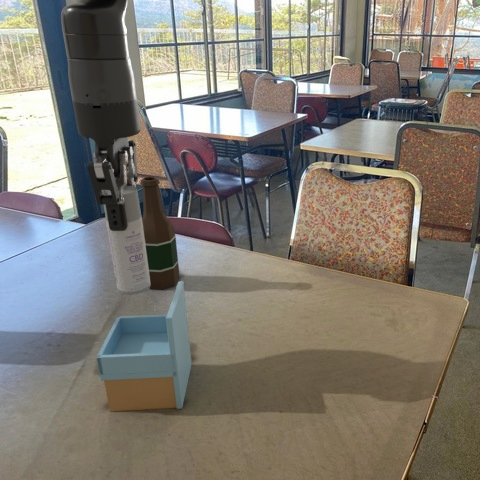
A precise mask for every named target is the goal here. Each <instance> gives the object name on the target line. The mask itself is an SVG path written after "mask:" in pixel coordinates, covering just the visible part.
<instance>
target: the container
mask: <svg viewBox="0 0 480 480" xmlns="http://www.w3.org/2000/svg"><path fill="white" fill-rule="evenodd" d="M108 195H111V191H110V190H108ZM124 204H125V211H126V218H127V224H128V227H127V229H126V230H125V231H112V230H110V228H109V223H108V217H107V211H106V205H103V209H104V214H105V215H104V217H105V224H106V230H107V237H108V242H109V249H110V255H111V261H112V267H113V273H114V279H115V284H116V290H117V292H118V293H120V294H122V295H126V296H133V295H138V294H142V293H144V292H146V291H148V290H150V286H151V284H150V275H149V268H148V260H147V253H146V245H145V238H144V230H143V223H142V217H143V216H142V212H141V205H140V199H139V193H138V188H137V186H136V187H133V186H125V187H124Z"/></svg>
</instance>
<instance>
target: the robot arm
mask: <svg viewBox="0 0 480 480" xmlns="http://www.w3.org/2000/svg"><path fill="white" fill-rule="evenodd" d="M128 2H129V1H128V0H75V2H73V3H69V4H67V5H65V6H64V7H63V8H62V10H61V14H60V21H61V23H60V24H61V30H62V35H63V41H64V47H65V53H66V58H67V74H68V75H67V76H68V84H69V89H70V95H71V100H72V105H73V111H74V117H75V123H76V129H77V133H78V135H79V136H81V137H83V138H86V139H91V140H93V141H94V151H93V153H92V155H93V161H88V162H87V165H86V168H87V172H88V175H89V179H90V182H91V186H92V189H93V193H94V196H95V199H96V203H97V205H98V206H104V205H106V211H107V217H108V223H109V228H110V230H112V231H125V230H126V229H127V227H128V224H127V218H126V211H125V204H124V187H125V186H133V187H136V188H137V185H136V183H137V182H138V180H139V176H138V163H137V162H138V161H137V148H136V147H137V143H136V140H132V139H131V140H129V138H131V137H134V136H136V135H138V134H140V133H141V130H142V127H141V120H140V119H141V118H140V111H139V103H138V95H137V87H136V79H135V73H134V70H133V66H132V62H131V58H130V49H129V41H128V35H127V34H128V33H127V27H126V16H127V15H126V14H127V9H128ZM108 190H110V191H111V195H108Z"/></svg>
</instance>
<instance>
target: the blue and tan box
mask: <svg viewBox="0 0 480 480" xmlns="http://www.w3.org/2000/svg"><path fill="white" fill-rule="evenodd" d="M186 302H187V301H186V293H185V283H184V281H183V280H181V281H180V280H178V282H177V283H176V287H175V291H174V293H173V296H172V299H171V302H170V305H169V308H168V311H167V314H148V315H147V314H146V315H121V316H120V315H119V316H117V317H116V318H115V320H114V322H113V324H112V326H111V328H110V330H109V332H108V333H107V336H106V338H105V340H104V342H103V343H102V345H101V347H100V350H99V352H98V354H97V356H96V358H95V359H96V363H97V369H98V373H99V378H100V381H103V383H104V388H105V393H106V398H107V403H108V408H109V412H128V411H144V410H160V409H161V410H162V409H176V410H182V409H183V407H184V402H185V397H186V393H187V389H188V383H189V380H190V374H191V370H192V363H193V362H192V353H191V343H190V342H191V341H190V335H189V323H188V314H187V303H186Z"/></svg>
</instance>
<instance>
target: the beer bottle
mask: <svg viewBox="0 0 480 480" xmlns="http://www.w3.org/2000/svg"><path fill="white" fill-rule="evenodd" d="M160 182H161V181H160V179H159V178H157V177H155V176H146V177H143V178H141V179H140V183H139V184H140V185H141V189H142V190H141V191H142V206H143V207H142V208H143V212H142V216H141V217H142V223H143V230H144V238H145V245H146V253H147V260H148V268H149V275H150V284H151V286H150V288H149V290H157V291H158V290H160V291H163V290H167V289H170V288H173V287H175V286H176V285H177V284H178V281H180V266H179V257H178V246H177V236H176V231H175V227H174V225H173V223H172V221H171V220H170V219H169V217H168V216H167V215H166V213H165V210H164V207H163V203H162V196H161V192H160V186H159V184H161V183H160Z"/></svg>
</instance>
